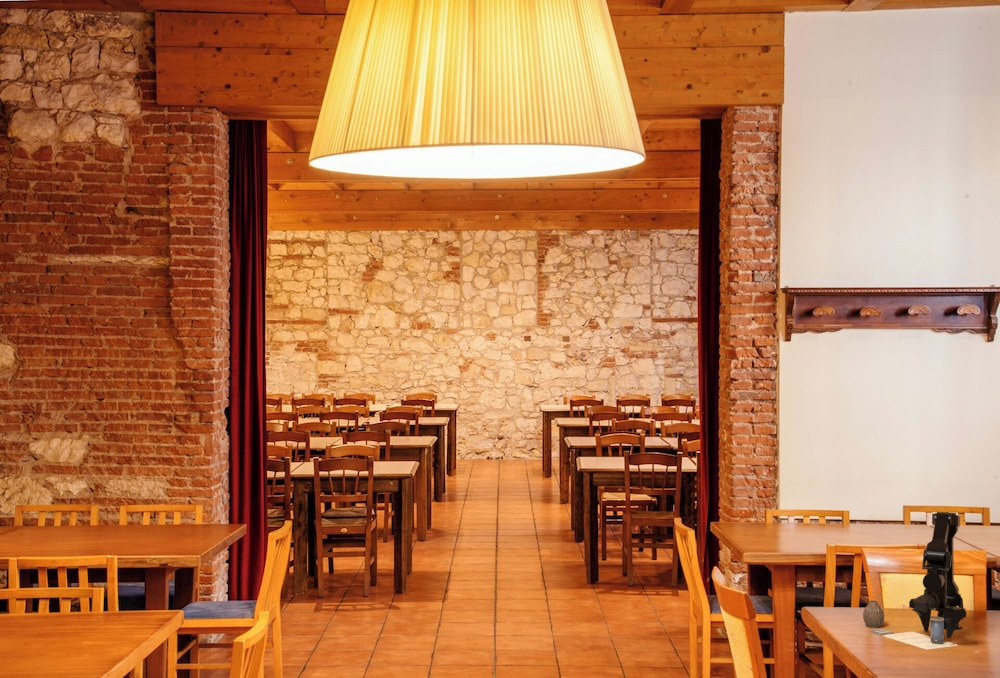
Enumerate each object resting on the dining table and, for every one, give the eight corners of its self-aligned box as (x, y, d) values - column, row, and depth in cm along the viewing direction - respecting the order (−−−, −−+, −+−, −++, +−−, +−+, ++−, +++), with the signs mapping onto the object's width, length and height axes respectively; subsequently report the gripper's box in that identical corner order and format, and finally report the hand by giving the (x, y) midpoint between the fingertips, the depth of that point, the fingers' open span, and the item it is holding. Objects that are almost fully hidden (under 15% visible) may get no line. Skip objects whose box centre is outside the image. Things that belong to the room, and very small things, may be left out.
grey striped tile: (883, 630, 354) (883, 629, 354) (893, 633, 350) (893, 632, 350) (870, 632, 351) (870, 630, 351) (880, 635, 347) (880, 633, 347)
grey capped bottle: (936, 640, 339) (936, 615, 340) (947, 643, 335) (947, 618, 336) (927, 641, 338) (927, 616, 338) (937, 644, 334) (937, 619, 334)
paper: (912, 632, 351) (912, 631, 351) (957, 645, 334) (957, 644, 334) (882, 636, 346) (882, 635, 346) (927, 649, 329) (927, 648, 329)
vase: (885, 629, 355) (885, 603, 356) (864, 628, 357) (864, 602, 357) (882, 624, 362) (882, 599, 362) (861, 623, 363) (861, 598, 364)
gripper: (896, 582, 342) (896, 630, 342) (941, 593, 325) (941, 644, 325) (921, 580, 347) (922, 627, 346) (967, 591, 330) (967, 640, 329)
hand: (937, 634), depth 337 cm, fingers open, 9 cm apart
